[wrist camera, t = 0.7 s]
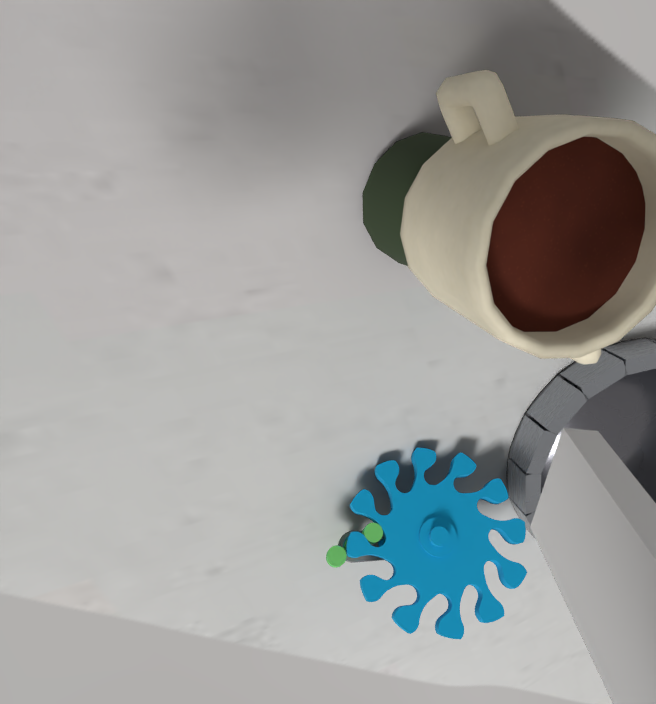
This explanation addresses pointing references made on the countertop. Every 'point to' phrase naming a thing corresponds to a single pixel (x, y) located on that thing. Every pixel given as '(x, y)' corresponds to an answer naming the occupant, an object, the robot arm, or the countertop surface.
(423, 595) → the gear
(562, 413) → the grey round tray
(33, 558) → the countertop surface
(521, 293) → the character mug
